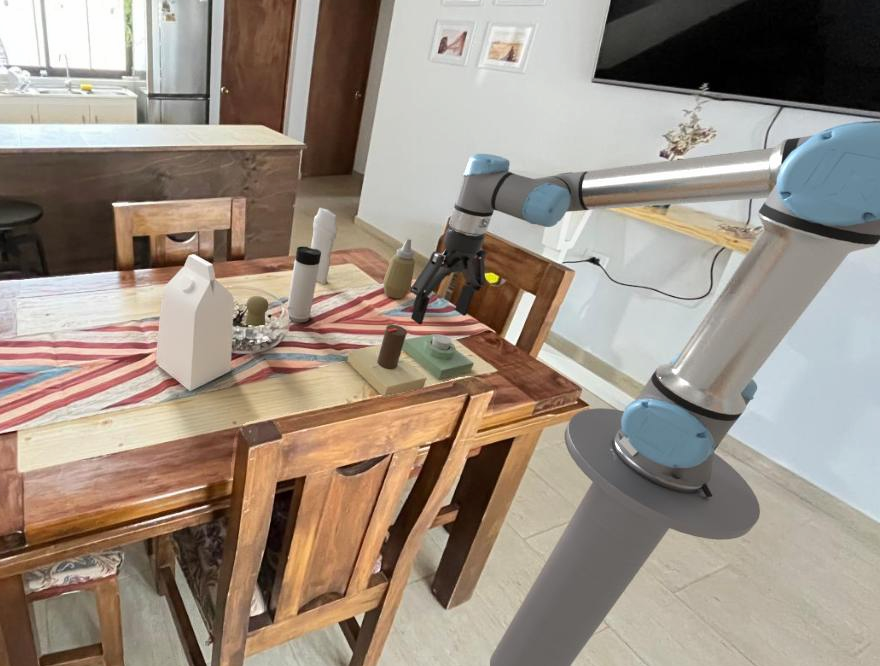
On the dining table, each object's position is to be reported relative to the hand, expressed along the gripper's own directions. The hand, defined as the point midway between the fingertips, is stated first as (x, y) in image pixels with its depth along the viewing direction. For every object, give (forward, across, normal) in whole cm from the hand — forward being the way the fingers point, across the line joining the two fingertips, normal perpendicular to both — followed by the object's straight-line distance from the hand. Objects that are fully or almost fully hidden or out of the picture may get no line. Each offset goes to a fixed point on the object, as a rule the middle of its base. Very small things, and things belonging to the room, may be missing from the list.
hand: (438, 317), depth 117 cm
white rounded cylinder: (+13, -1, +47) cm, 49 cm away
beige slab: (+13, -13, 0) cm, 18 cm away
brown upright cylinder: (+10, -13, 0) cm, 16 cm away
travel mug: (+13, -19, +28) cm, 36 cm away
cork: (+13, -35, +22) cm, 44 cm away
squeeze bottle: (+13, +17, +31) cm, 38 cm away
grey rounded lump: (+9, +4, 0) cm, 10 cm away
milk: (+13, -53, +16) cm, 57 cm away
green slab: (+13, +4, 0) cm, 14 cm away
